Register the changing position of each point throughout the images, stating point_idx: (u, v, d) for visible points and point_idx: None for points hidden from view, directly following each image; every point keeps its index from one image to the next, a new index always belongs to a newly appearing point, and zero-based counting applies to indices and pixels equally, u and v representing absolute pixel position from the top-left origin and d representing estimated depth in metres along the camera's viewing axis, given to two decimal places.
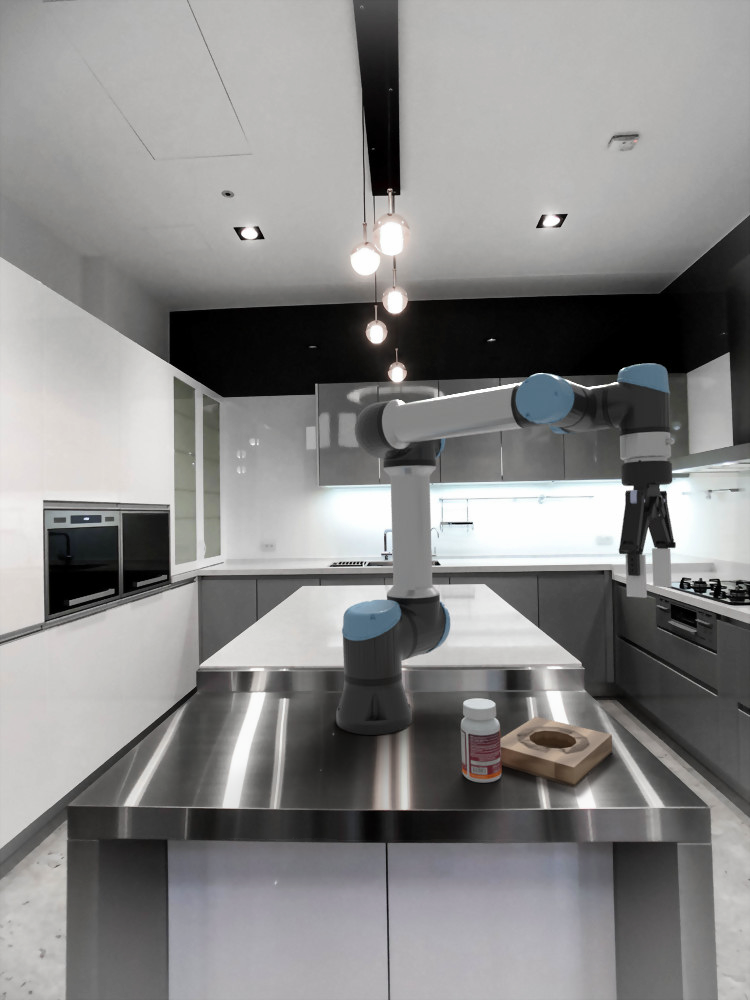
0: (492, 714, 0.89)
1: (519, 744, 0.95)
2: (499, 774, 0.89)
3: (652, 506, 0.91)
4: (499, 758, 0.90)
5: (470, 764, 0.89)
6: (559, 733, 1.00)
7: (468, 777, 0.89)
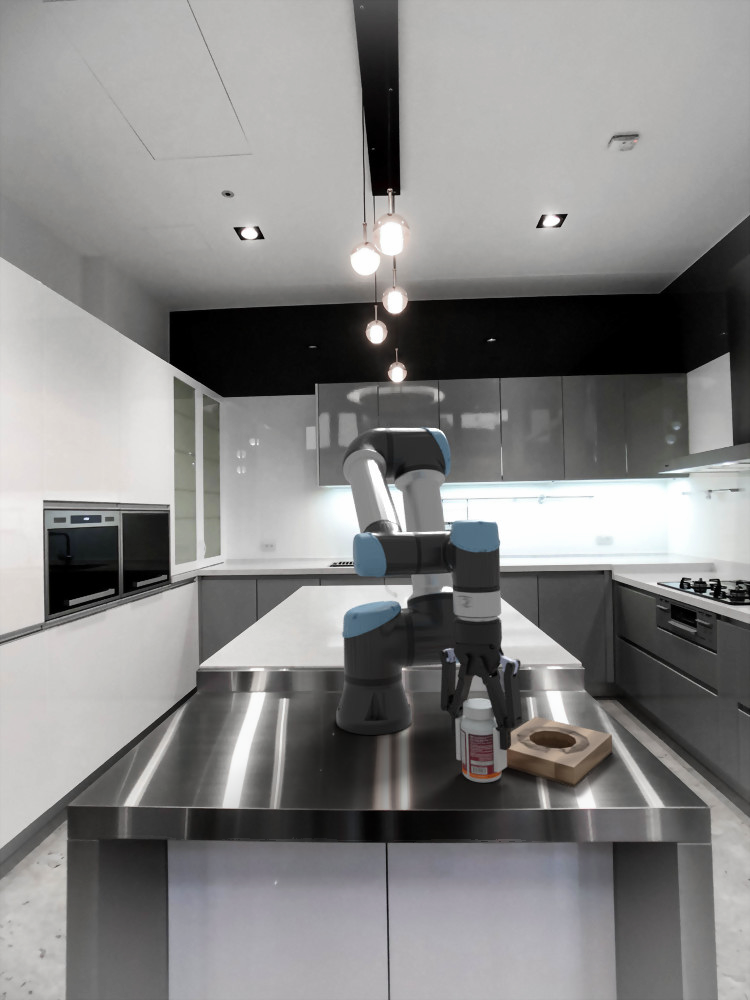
0: (492, 714, 0.89)
1: (519, 744, 0.95)
2: (499, 774, 0.89)
3: (460, 666, 0.92)
4: None
5: (470, 764, 0.89)
6: (559, 733, 1.00)
7: (468, 777, 0.89)
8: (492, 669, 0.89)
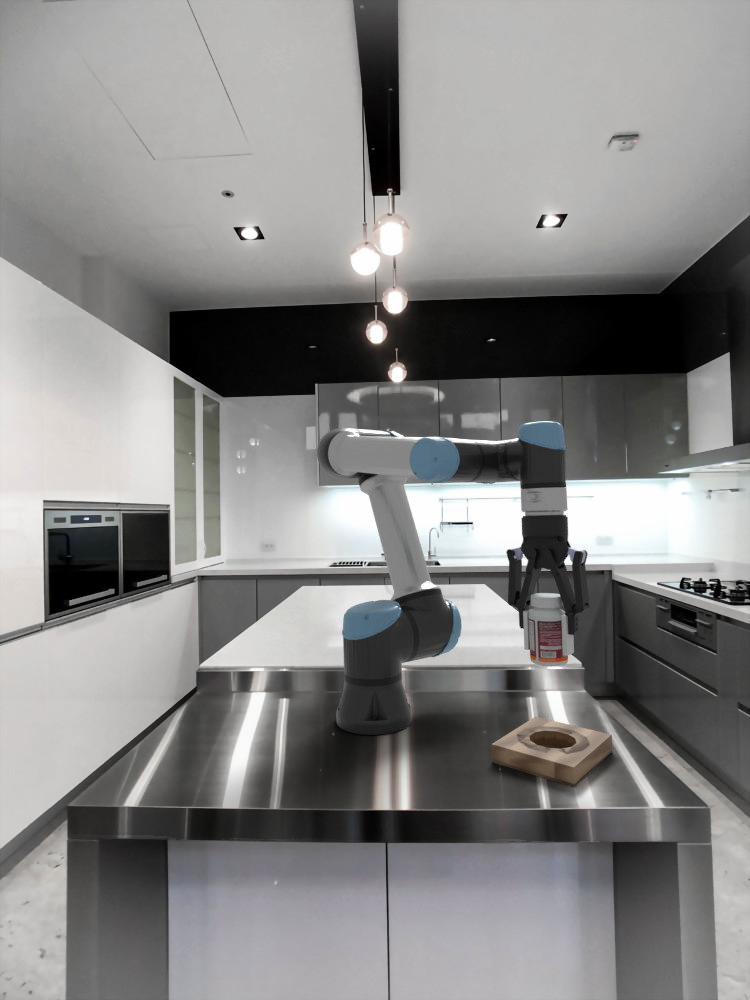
0: (560, 603, 0.95)
1: (519, 744, 0.95)
2: (566, 659, 0.95)
3: (528, 561, 0.98)
4: None
5: (540, 649, 0.95)
6: (559, 733, 1.00)
7: (537, 662, 0.95)
8: (560, 560, 0.95)
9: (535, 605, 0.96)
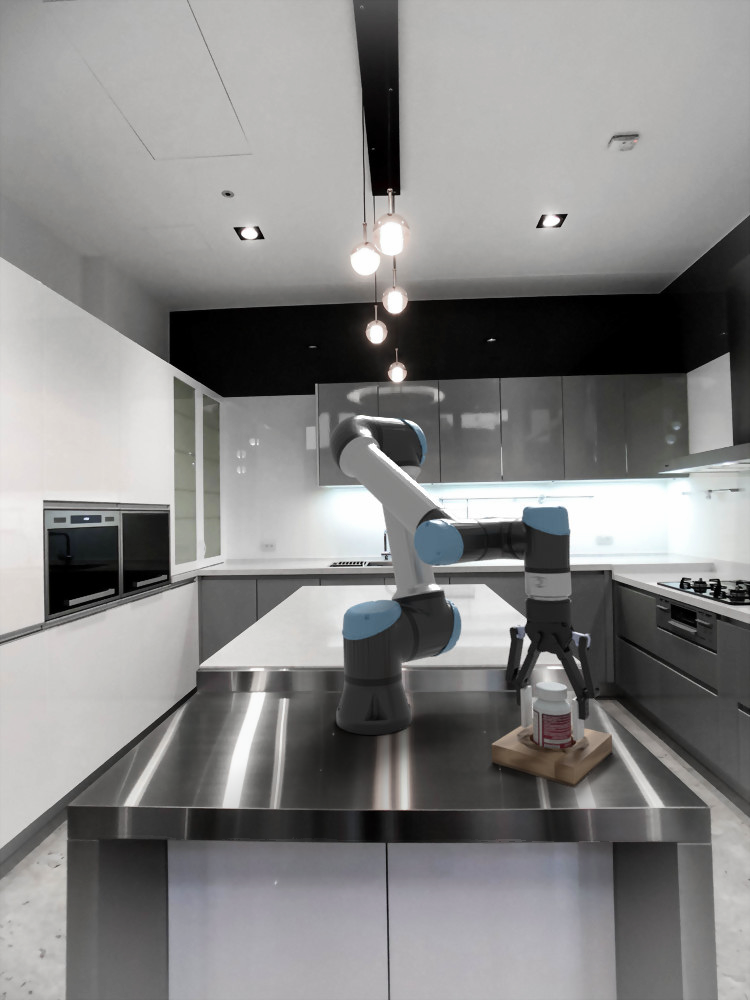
0: (564, 696, 0.95)
1: (519, 744, 0.95)
2: None
3: (531, 642, 0.98)
4: (570, 737, 0.95)
5: (543, 742, 0.95)
6: None
7: None
8: (564, 645, 0.95)
9: (540, 697, 0.96)
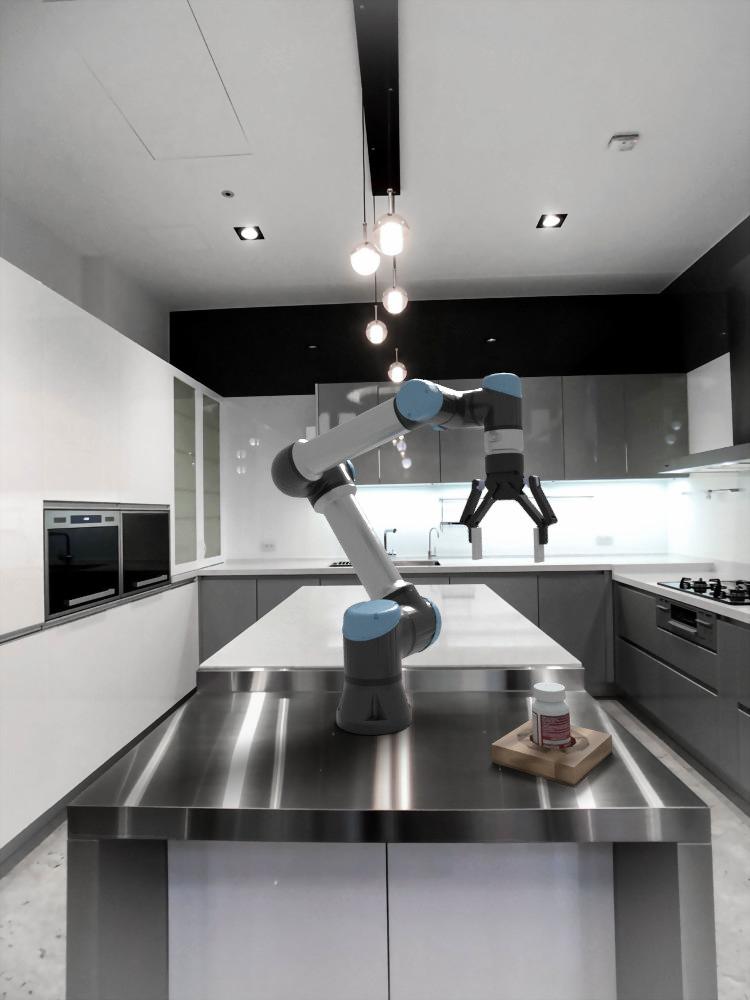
0: (562, 696, 0.95)
1: (519, 744, 0.95)
2: None
3: (488, 491, 1.15)
4: (569, 738, 0.95)
5: (543, 743, 0.95)
6: None
7: None
8: (516, 491, 1.11)
9: (538, 698, 0.96)
